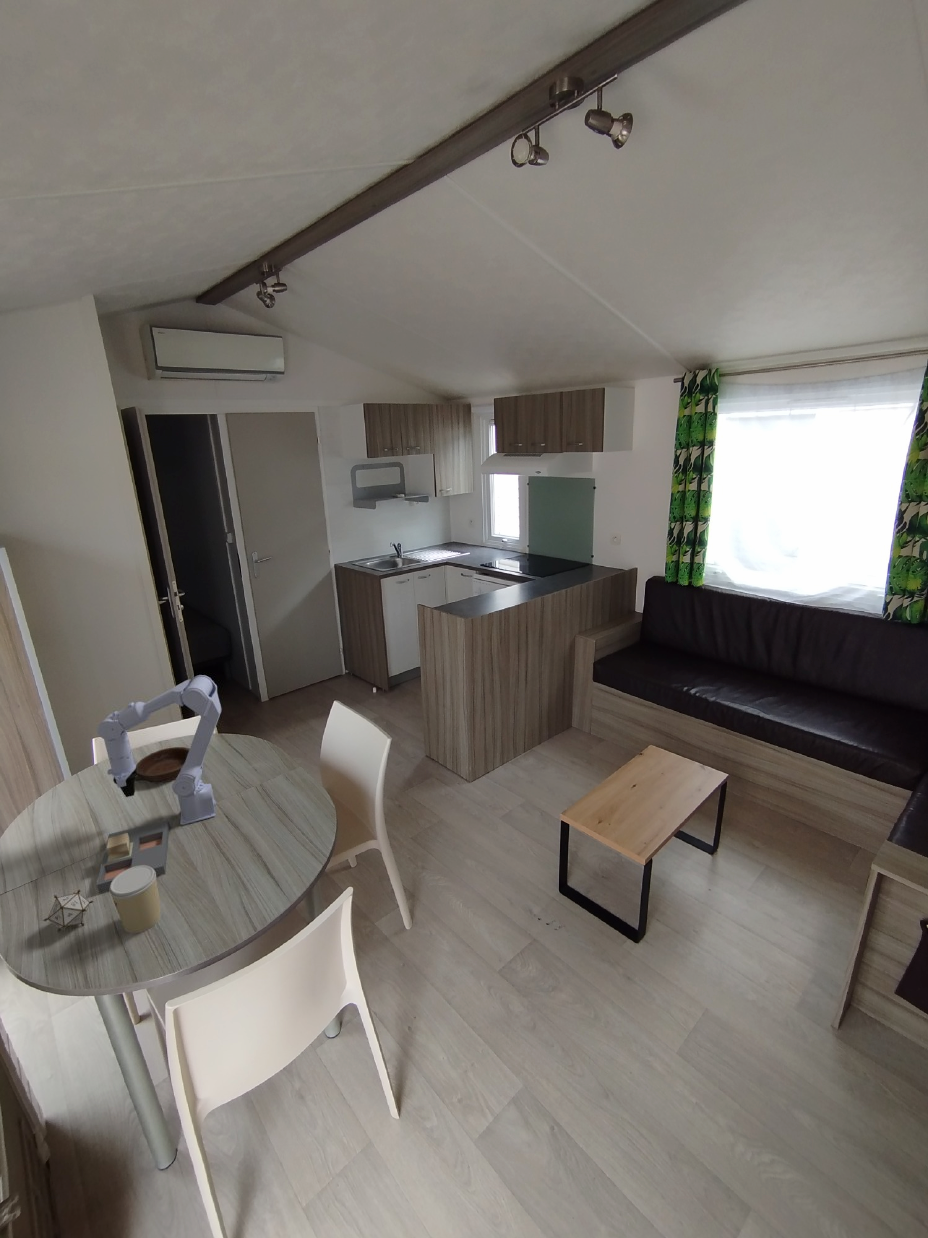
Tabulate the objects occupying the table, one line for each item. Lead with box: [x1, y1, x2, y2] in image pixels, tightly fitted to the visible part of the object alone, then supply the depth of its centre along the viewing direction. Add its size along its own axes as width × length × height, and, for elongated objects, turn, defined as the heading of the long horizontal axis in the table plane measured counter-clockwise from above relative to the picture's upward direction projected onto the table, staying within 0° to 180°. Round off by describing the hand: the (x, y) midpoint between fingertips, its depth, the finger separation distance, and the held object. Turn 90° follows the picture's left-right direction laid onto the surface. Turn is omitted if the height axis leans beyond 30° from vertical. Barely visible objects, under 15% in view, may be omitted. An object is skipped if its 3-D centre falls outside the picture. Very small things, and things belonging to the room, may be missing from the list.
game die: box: [42, 889, 94, 933], centre depth 131 cm, size 9×8×10 cm
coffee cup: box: [108, 865, 162, 934], centre depth 131 cm, size 9×9×12 cm
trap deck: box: [96, 818, 170, 894], centre depth 153 cm, size 15×21×2 cm
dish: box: [135, 746, 190, 784], centre depth 192 cm, size 18×22×5 cm
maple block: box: [106, 833, 131, 861], centre depth 150 cm, size 4×4×4 cm
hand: (130, 795), depth 164 cm, fingers closed
